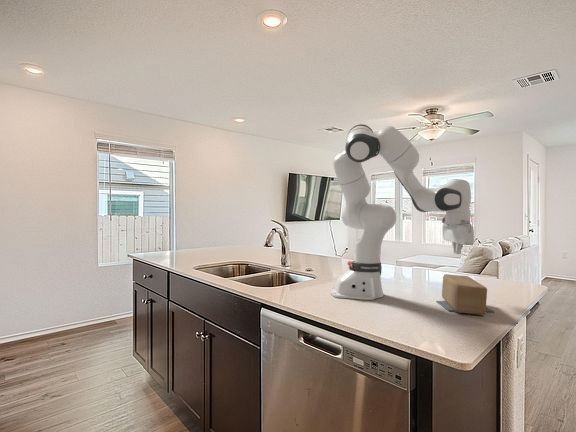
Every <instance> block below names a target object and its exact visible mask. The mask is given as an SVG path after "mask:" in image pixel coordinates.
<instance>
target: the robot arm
mask: <svg viewBox="0 0 576 432" xmlns="http://www.w3.org/2000/svg"><path fill="white" fill-rule="evenodd" d="M378 155H380V156H381V157H382V158H383V159H384V160H385V161H386V163H387V164H388V165H389V166H390V168H391V169H392V170H393V173H394V176H395V177H396V178H397V180H398V181H399V183H400V184H401V185H402V187H403V188H404V190H405V192H407V193H408V195H409V197H410V199H411V202H412V205H413V206H414V208H415V209H416V210H417V211H419V212H420V213H430V212H434V213H435V212H437V213H439V212H440V213H442V212H445V216H442V218H441V223H442V239H443V240H444V241H445V242H451V245H452V250H453V251H452V252H453V254H456V255H461V254H462V249H463V247H464V246H473V245H474V243H475V230H474V227H473V226H472V223H471V209H470V207H471V206H470V205H471V202H472V191H471V190H472V189H471V185H470V183H469V181H467V180H464V179H458V178H457V179H453V178H452V179H449V180H448V182H446V183H445V184H444V185H440V186H439V187H433V188H432V187H431V188H429V187H425V186H423V185H422V184H421V182H420V181H419V179H418V178H417V177H416V175H415V174H414V169H416V167H417V166H418V163H419V162H420V154H419V151H418V150H417V148H416V147H415V146H414V144H412V142H411V141H410V140H409V139H408V138H407V137H406V135H404V134H403V133H402V132H401V131H400V130H399V129H397V128H396V127H394V126H385V127H383V128H381V129H379V130H378V131H377V132H374V131H373V130H372V128H371V127H369V125H366V124H361V123H360V124H357V125H354V126H353V127H351V129H349V130H348V133H347V136H346V139H345V150H344V151H342V152H340V153H338V154H337V155H335V157H334V159H333V169H334V173H335V177H336V179H337V182H338V184H339V186H340V189H341V192H342V194H343V196H344V199H345V200H344V201H345V207H344V209H343V210H342V213H341V221H342V222H343V224H344V225H345V226H347V227H349V228H352V229H355V230H357V229H358V230H363V234H362V236H361V237H360V238H359V239H358V240H356V241H355V243H354V247H353V249H354V251H353V255H354V256H353V261H351V260H348V261H347V265H348V268H349V269H348V270H347V271H346V272H344V273H342V274H341V275H340V276H339V277H337V279H336V283H335V287H332V288H331V289H330V294H331V296H332V297H335V298H338V299H340V298H341V299H352V300H355V299H356V300H365V301H373V300H375V299H379V298H382V297H384V290H383V287H382V277H381V276H382V268H383V267H382V262H381V254H382V253H381V251H382V244H383V240H384V238H385V236H386V234H387V233H388V232H389V230H391V229H392V228H393V227H394V226H396V225H395V224H396V222H397V213H396V211H395V209H394V208H393V207H392V206H390V205H386V204H382V203H375V204H374V203H370V204H369V203H367V200H366V198H367V197H368V196H369V195H370V191H371V185H370V183H369V180H368V178H367V176H366V173H365V170H364V168H363V166H362V163H364V162H367V161H369V160H370V159H373V158H375V157H377V156H378Z"/></svg>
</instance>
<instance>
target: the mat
mask: <svg viewBox="0 0 576 432" xmlns="http://www.w3.org/2000/svg"><path fill="white" fill-rule="evenodd" d="M435 302H436V303H437V304H438V305H440V306H441V307H442V308H444V309H445V310H447V311H448V312H456V311H455V310H454V309H453V308H452V307H451V306H450V305H449V304H448V303H447V302H446V301H445V300H436V301H435ZM456 313H457V312H456ZM485 313H492V314H494V313H495V311H494V310H492V309H491V308H489V307H487V306H486V312H485Z"/></svg>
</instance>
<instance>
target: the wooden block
mask: <svg viewBox="0 0 576 432" xmlns="http://www.w3.org/2000/svg"><path fill="white" fill-rule="evenodd" d="M487 295H488V289H487V287H486V286H485V285H482V284H481V283H480V282H478V281H476V280H474V279H473V278H472V277H470V276H469V275H461V274H460V275H459V274H444V275H443V276H442V288H441V297H442V299H443V301H446V302H447V303H448V304H449V305H450V306H451V307H452V308H453V309H454V310H455V311H456V313H462V314H470V315H480V316H483V315H485V314H486V313H487V312H486V307H487V298H488V297H487Z"/></svg>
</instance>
